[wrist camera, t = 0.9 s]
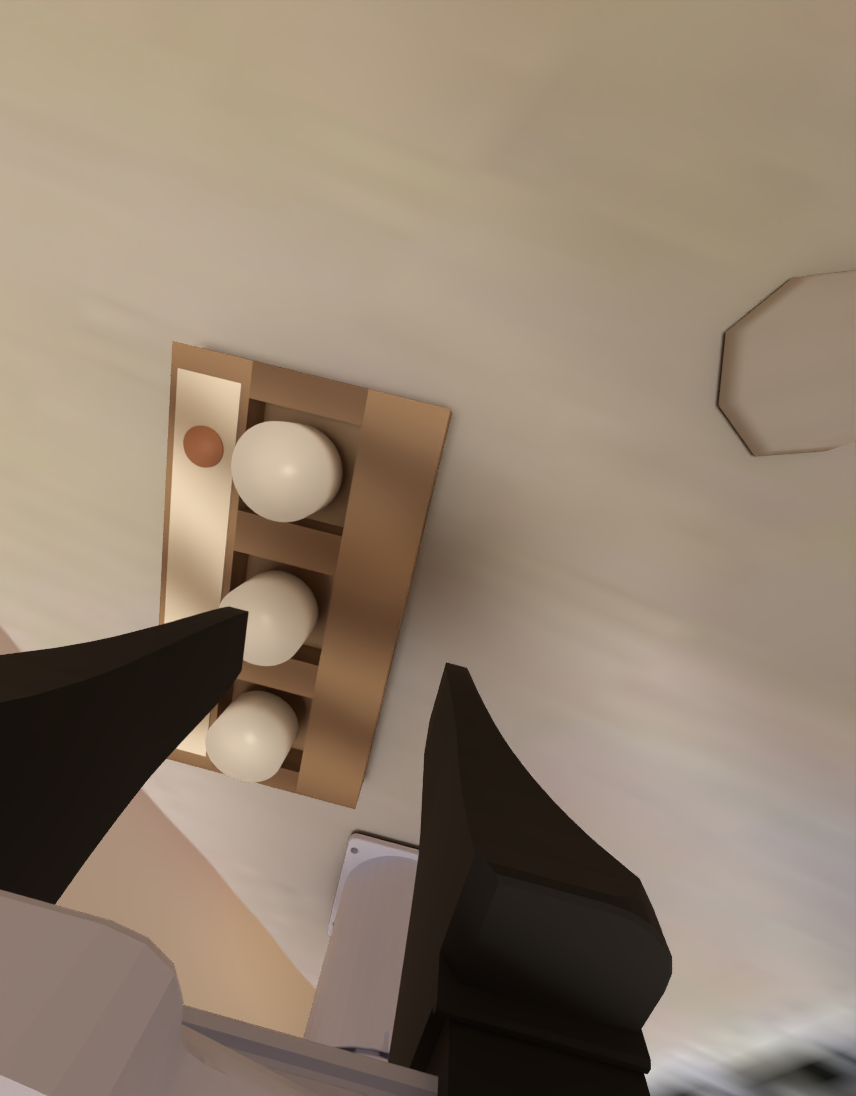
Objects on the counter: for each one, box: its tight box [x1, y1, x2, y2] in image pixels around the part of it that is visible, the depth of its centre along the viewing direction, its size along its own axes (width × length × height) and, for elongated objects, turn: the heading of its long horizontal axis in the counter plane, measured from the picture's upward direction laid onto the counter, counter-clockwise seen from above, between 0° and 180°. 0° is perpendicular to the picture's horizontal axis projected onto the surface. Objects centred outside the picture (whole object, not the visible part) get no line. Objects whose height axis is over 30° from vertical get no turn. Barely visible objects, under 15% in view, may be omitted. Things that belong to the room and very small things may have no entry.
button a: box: [231, 421, 343, 522], centre depth 17 cm, size 4×4×2 cm
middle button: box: [219, 570, 319, 666], centre depth 19 cm, size 4×4×2 cm
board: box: [159, 341, 452, 809], centre depth 21 cm, size 22×12×2 cm, turn 167°
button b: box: [205, 691, 299, 782], centre depth 21 cm, size 4×4×2 cm
